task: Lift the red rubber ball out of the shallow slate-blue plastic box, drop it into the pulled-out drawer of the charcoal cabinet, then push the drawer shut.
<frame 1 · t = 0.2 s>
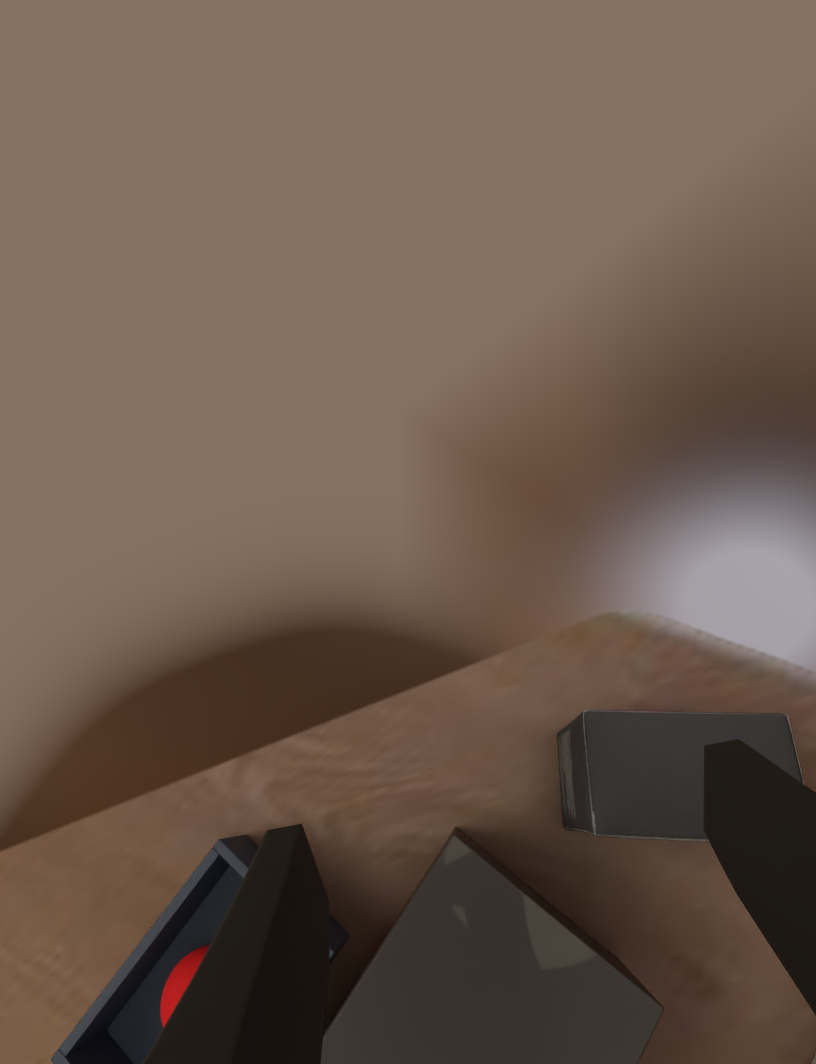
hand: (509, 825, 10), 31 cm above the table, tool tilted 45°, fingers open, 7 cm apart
box: (225, 981, 36), on the table
cabinet: (473, 995, 34), on the table
small box: (638, 779, 39), on the table
ball: (206, 996, 33), point 3 cm above the table, touching box
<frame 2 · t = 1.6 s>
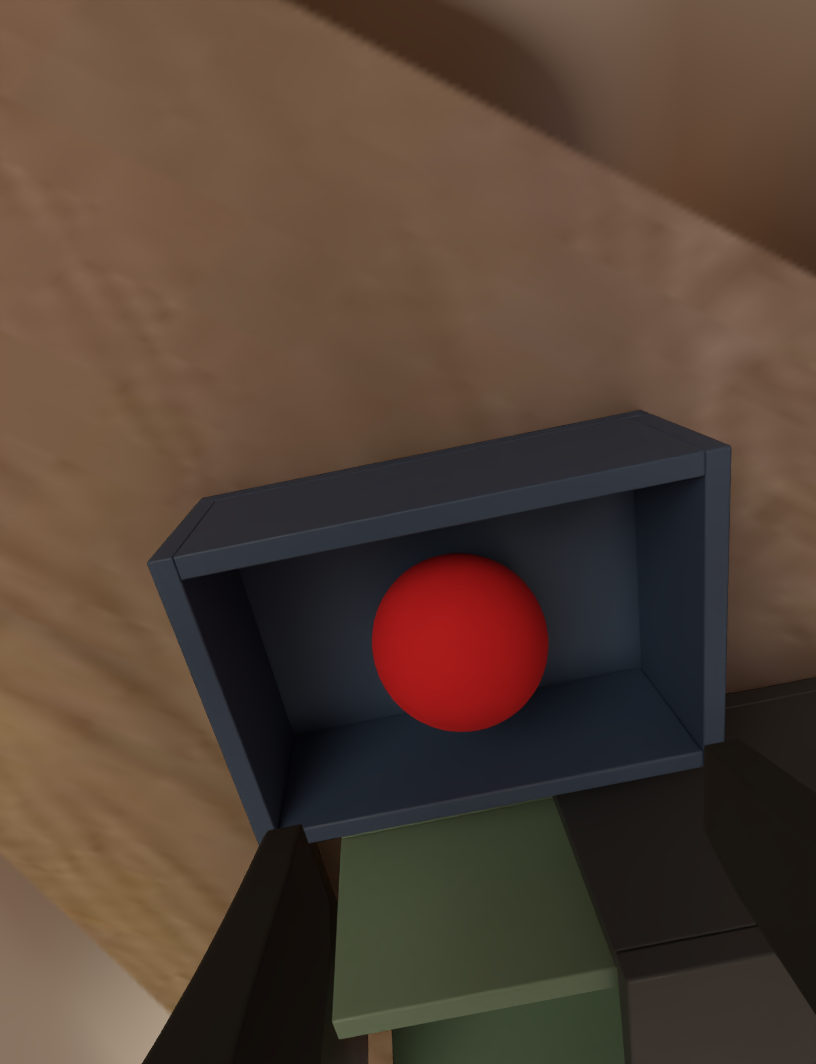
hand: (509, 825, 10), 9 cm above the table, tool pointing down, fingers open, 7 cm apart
drawer: (463, 979, 20), point 4 cm above the table, slide at 8.5 cm
box: (445, 589, 19), on the table
cabinet: (711, 815, 23), on the table
ball: (459, 640, 16), point 3 cm above the table, touching box
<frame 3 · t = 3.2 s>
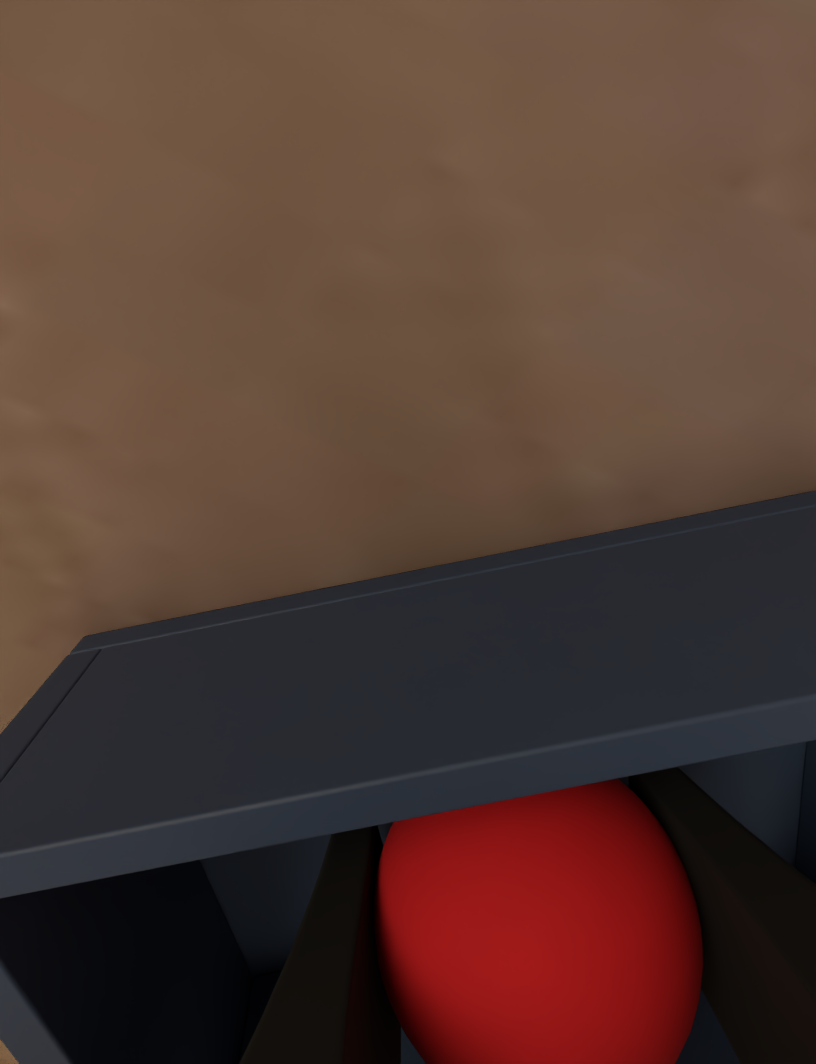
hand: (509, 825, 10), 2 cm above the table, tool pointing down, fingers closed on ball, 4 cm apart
box: (491, 763, 12), on the table
ball: (528, 907, 9), point 3 cm above the table, touching box, gripper
when the fingers open (5 cm above the table, at t = 7.2 s): ball drops 3 cm, resting on drawer.
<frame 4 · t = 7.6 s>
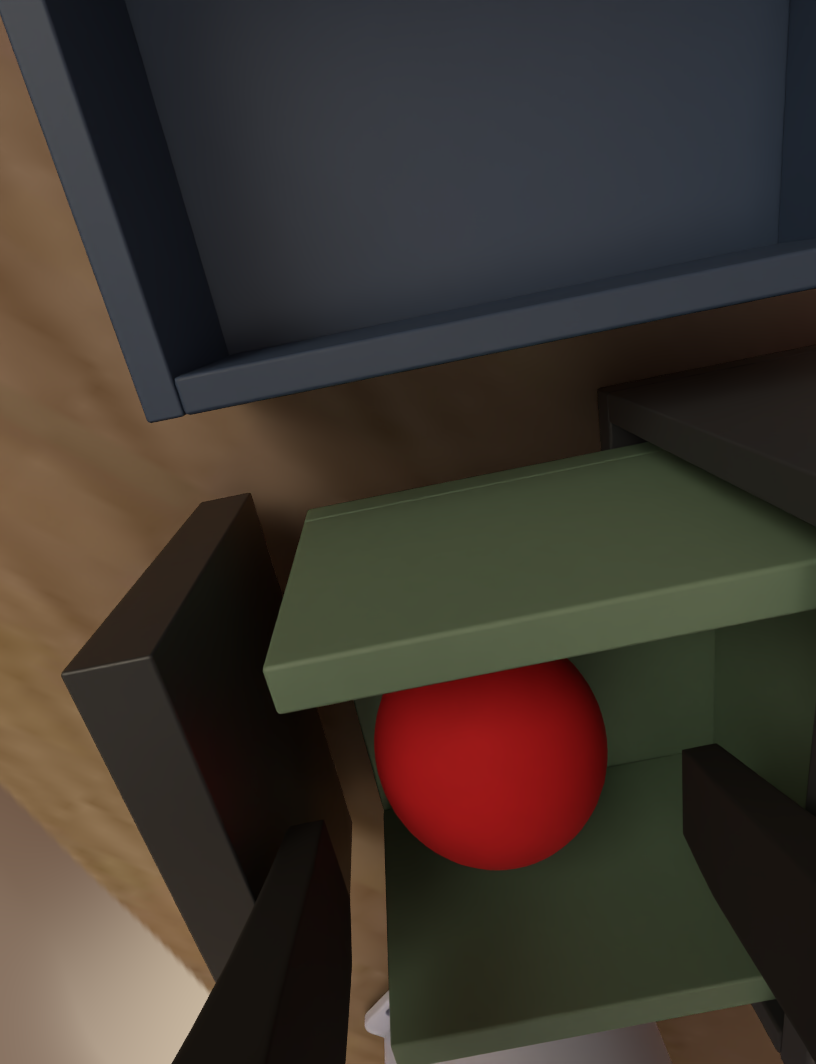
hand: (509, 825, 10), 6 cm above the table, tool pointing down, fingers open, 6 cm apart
drawer: (495, 734, 12), point 4 cm above the table, slide at 8.5 cm, touching ball
box: (470, 86, 12), on the table
ball: (487, 738, 12), point 4 cm above the table, touching drawer
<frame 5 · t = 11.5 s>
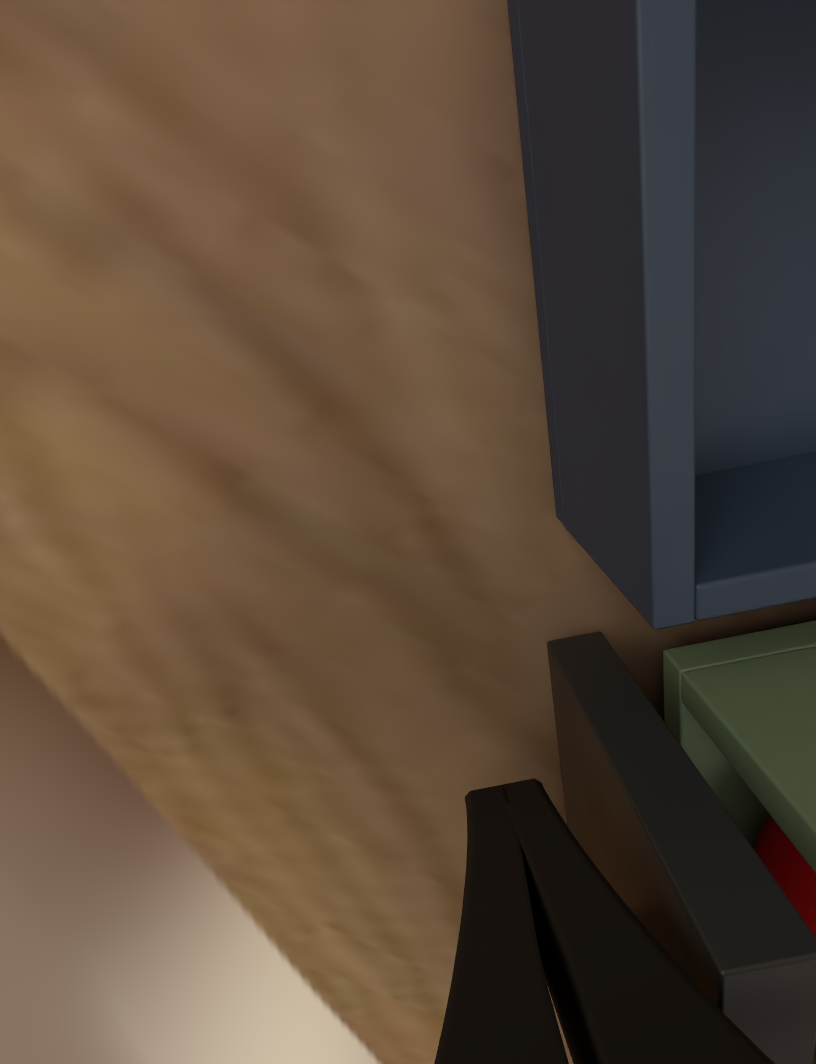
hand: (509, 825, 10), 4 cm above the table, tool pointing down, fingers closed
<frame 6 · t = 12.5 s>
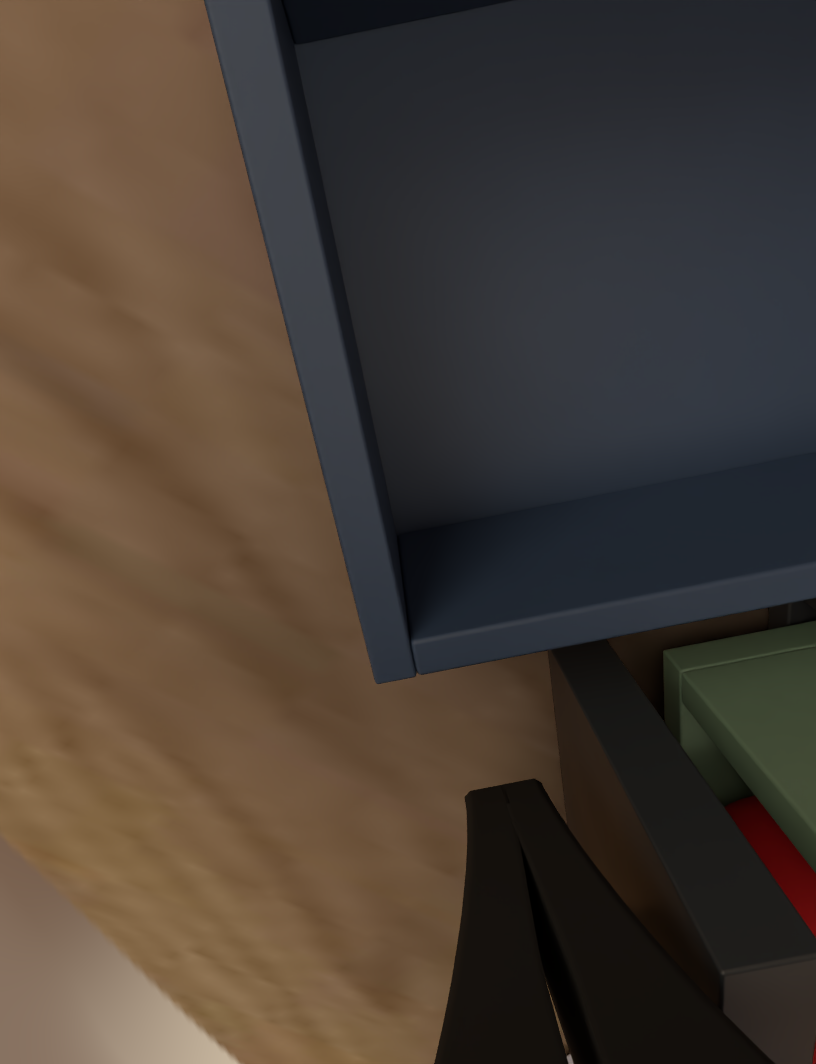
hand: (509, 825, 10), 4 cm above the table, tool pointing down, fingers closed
box: (674, 260, 11), on the table
ball: (813, 927, 11), point 4 cm above the table, tilted 39°, touching drawer
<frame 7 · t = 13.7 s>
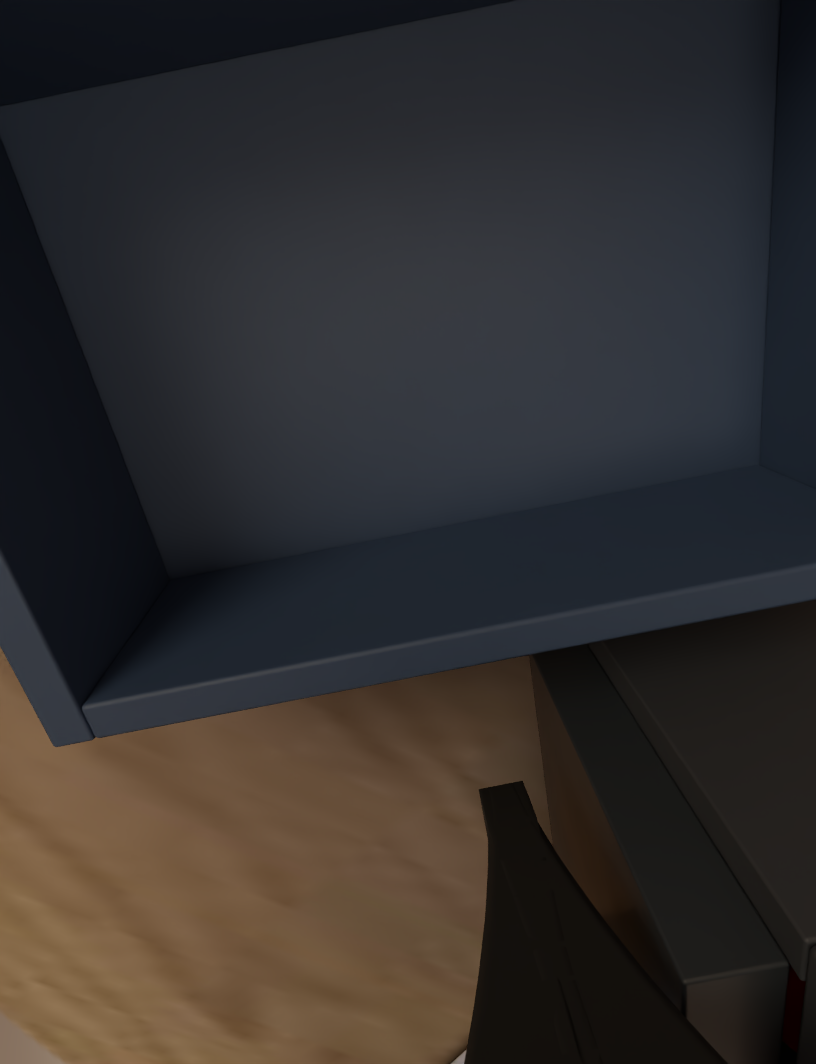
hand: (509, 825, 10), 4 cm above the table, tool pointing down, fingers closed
box: (425, 310, 11), on the table
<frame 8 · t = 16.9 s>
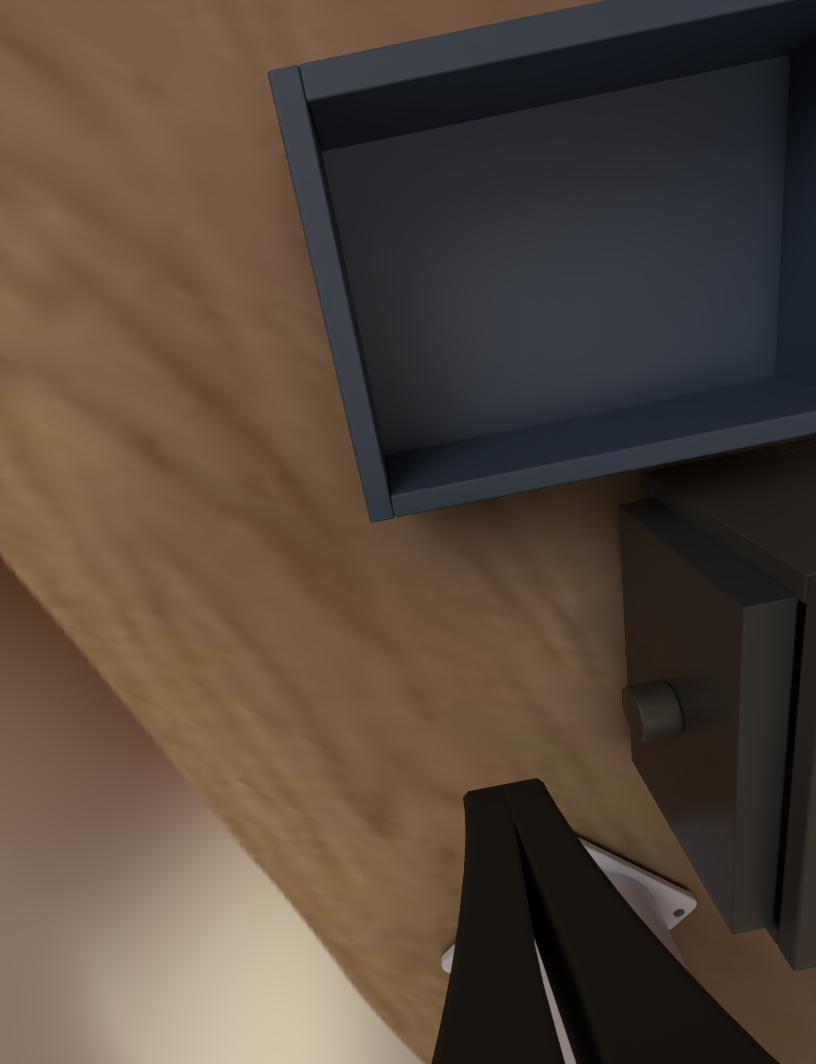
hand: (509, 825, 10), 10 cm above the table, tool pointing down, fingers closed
box: (561, 275, 17), on the table
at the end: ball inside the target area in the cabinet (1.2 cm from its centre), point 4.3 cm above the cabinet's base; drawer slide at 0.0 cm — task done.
